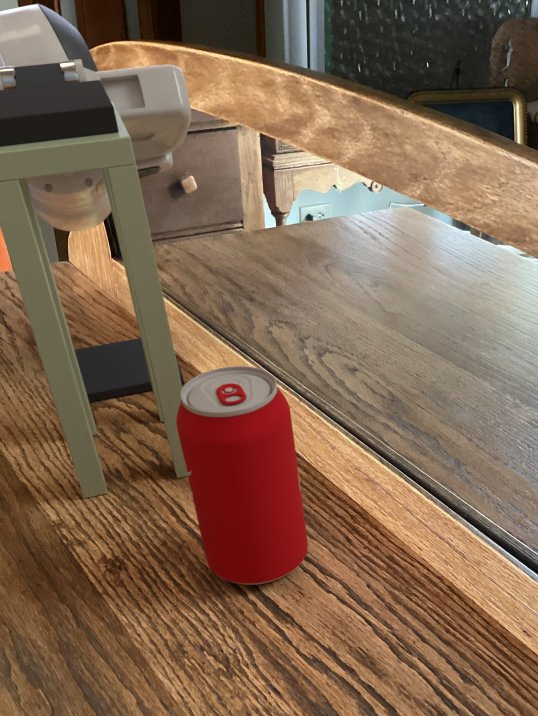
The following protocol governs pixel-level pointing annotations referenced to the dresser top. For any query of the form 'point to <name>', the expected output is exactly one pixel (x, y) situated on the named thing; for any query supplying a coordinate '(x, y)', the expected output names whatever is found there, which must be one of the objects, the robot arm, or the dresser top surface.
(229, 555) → the beverage can
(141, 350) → the charcoal mat
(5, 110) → the black t-shaped block
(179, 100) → the robot arm
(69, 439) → the stool
